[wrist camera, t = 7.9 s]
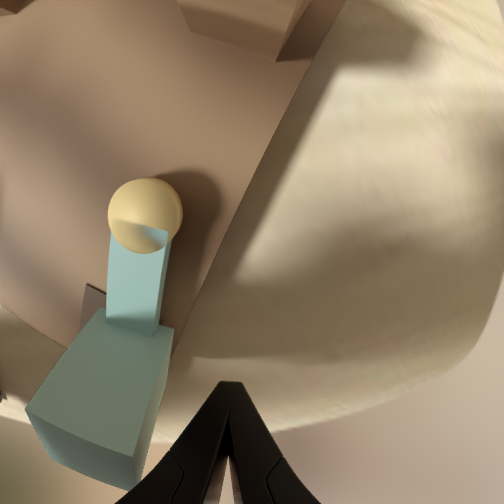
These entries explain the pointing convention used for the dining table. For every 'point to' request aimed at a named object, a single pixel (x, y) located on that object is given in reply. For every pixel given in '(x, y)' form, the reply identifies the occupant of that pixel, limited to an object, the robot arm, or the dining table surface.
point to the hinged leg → (116, 349)
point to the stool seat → (134, 134)
